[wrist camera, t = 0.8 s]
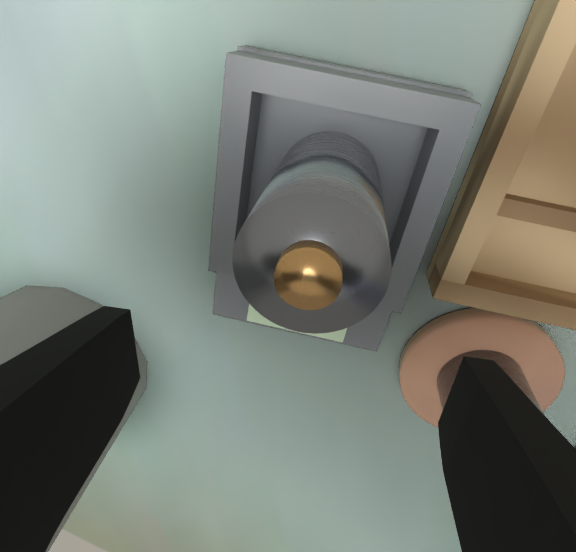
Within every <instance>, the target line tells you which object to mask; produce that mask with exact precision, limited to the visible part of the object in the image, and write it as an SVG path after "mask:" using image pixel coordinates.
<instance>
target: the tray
mask: <svg viewBox="0 0 576 552" xmlns="http://www.w3.org/2000/svg"><path fill="white" fill-rule="evenodd" d="M426 275H427V278H428V282H429V286H430V289H431V293H432V296H433V299H438V300H442V301H447V302H451V303H456V304H460V305H465V306H469V307H474V308H478V309H483V310H487V311H492V312H496V313H501V314H505V315H510V316H514V317H519V318H523V319H528V320H532V321H537V322H541V323H546V324H550V325H555V326H559V327H564V328H569V329H573V330H576V0H535V1H534V4H533V6H532V9H531V11H530V14H529V16H528V19H527V22H526V24H525V27H524V29H523V32H522V34H521V37H520V39H519V42H518V44H517V47H516V49H515V52H514V54H513V57H512V59H511V62H510V64H509V67H508V69H507V72H506V74H505V77H504V79H503V82H502V84H501V87H500V89H499V92H498V94H497V97H496V99H495V102H494V104H493V107H492V109H491V112H490V114H489V117H488V119H487V122H486V124H485V127H484V129H483V132H482V134H481V137H480V139H479V142H478V144H477V147H476V149H475V152H474V154H473V157H472V159H471V162H470V165H469V167H468V170H467V172H466V175H465V177H464V180H463V182H462V185H461V187H460V190H459V192H458V195H457V197H456V200H455V202H454V205H453V207H452V210H451V212H450V215H449V217H448V220H447V222H446V225H445V227H444V230H443V232H442V235H441V237H440V240H439V242H438V245H437V247H436V250H435V252H434V255H433V257H432V260H431V262H430V265H429V267H428V270H427V272H426Z"/></svg>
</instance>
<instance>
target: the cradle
mask: <svg viewBox="0 0 576 552" xmlns="http://www.w3.org/2000/svg"><path fill="white" fill-rule="evenodd" d="M471 95H472V93H470V92H468V91H466V90H464V89H459V88H454V87H449V86H444V85H439V84H434V83H429V82H424V81H419V80H414V79H410V78H405V77H400V76H395V75H390V74H385V73H380V72H375V71H370V70H365V69H360V68H355V67H350V66H345V65H340V64H335V63H330V62H325V61H320V60H315V59H310V58H305V57H300V56H296V55H291V54H286V53H281V52H276V51H271V50H266V49H261V48H256V47H251V46H246V45H245V46H238V49H237V51H236V52H229V53H226V61H225V73H224V85H223V97H222V110H221V122H220V134H219V147H218V159H217V171H216V183H215V196H214V208H213V220H212V232H211V245H210V257H209V269H208V271H213V272H217V274H216V284H215V295H214V306H213V314H214V315H219V316H223V317H227V318H232V319H236V320H241V321H245V322H249V323H254V324H258V325H263V326H267V327H271V328H276V329H280V330H284V331H289V332H293V333H298V334H302V335H306V336H311V337H315V338H320V339H324V340H328V341H333V342H337V343H341V344H346V345H350V346H355V347H359V348H363V349H368V350H372V351H377V350H378V347H379V345H380V342H381V339H382V337H383V334H384V331H385V328H386V326H387V323H388V320H389V318H390V315H391V312H396V313H400V314H401V312H402V309H403V307H404V304H405V301H406V299H407V296H408V294H409V291H410V288H411V286H412V283H413V281H414V278H415V275H416V273H417V270H418V268H419V265H420V262H421V260H422V257H423V255H424V252H425V249H426V247H427V244H428V242H429V239H430V236H431V234H432V231H433V229H434V226H435V223H436V221H437V218H438V216H439V213H440V210H441V208H442V205H443V203H444V200H445V197H446V195H447V192H448V189H449V187H450V184H451V182H452V179H453V176H454V174H455V171H456V169H457V166H458V163H459V161H460V158H461V156H462V153H463V150H464V148H465V145H466V143H467V140H468V137H469V135H470V132H471V130H472V127H473V124H474V122H475V119H476V117H477V114H478V111H479V109H480V106H481V104H479V103H477V102H476V101H474V100H472V99H471ZM323 131H335V132H341V133H344V134H347V135H350V136H352V137H354V138H355V139H357V140H359V141H360V142H361V143H362V144H364V145H365V146H366V147H367V149H368V150H369V151H370V152H371V154H372V155H373V157H374V159H375V161H376V164H377V167H378V171H379V176H380V183H381V190H382V198H383V205H384V212H385V219H386V226H387V233H388V240H389V247H390V254H391V266H392V270H391V279H390V282H389V286H388V289H387V291H386V293H385V296H384V297H383V299H382V301H381V302H380V304H379V305H378V306H377V307H376V308H375V310H374V311H373V312H372V313H370V314H369V315H368V316H367V317H366V318H364V319H363V320H361V321H360V322H358V323H356V324H355V325H353V326H351V327H348V328H345V329H343V330H339V331H335V332H329V333H317V334H313V333H303V332H297V331H293V330H289V329H286V328H284V327H281V326H279V325H277V324H275V323H273V322H271V321H269V320H268V319H266V318H265V317H263V316H262V315H261V314H259V313H258V312H257V311H256V310H255V309H254V308H253V307H252V306H251V305H250V304H249V303H248V301H247V300H246V299H245V297H244V296H243V294H242V292H241V291H240V289H239V287H238V284H237V282H236V279H235V275H234V271H233V263H232V259H233V249H234V244H235V241H236V238H237V235H238V233H239V231H240V229H241V228H242V226H243V224H244V222H245V221H246V219H247V218H248V216H249V214H250V213H251V211H252V209H253V208H254V206H255V204H256V203H257V201H258V199H259V198H260V196H261V194H262V193H263V191H264V189H265V188H266V186H267V185H268V183H269V181H270V180H271V178H272V176H273V175H274V173H275V171H276V170H277V168H278V166H279V165H280V163H281V161H282V160H283V158H284V157H285V155H286V153H287V152H288V151H289V149H290V148H291V147H292V146H293V145H294V144H295V143H297V142H298V141H299V140H301V139H302V138H304V137H306V136H308V135H311V134H314V133H317V132H323Z"/></svg>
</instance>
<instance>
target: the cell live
mask: <svg viewBox="0 0 576 552" xmlns="http://www.w3.org/2000/svg"><path fill="white" fill-rule="evenodd" d="M232 263H233V271H234V275H235V279H236V282H237V284H238V287H239V289H240V291H241V292H242V294H243V296H244V297H245V299H246V300H247V301H248V303H249V304H250V305H251V306H252V307H253V308H254V309H255V310H256V311H257V312H258V313H259V314H261V315H262V316H263V317H265V318H266V319H268V320H269V321H271V322H273V323H275V324H277V325H279V326H281V327H284V328H286V329H289V330H293V331H297V332H303V333H313V334H317V333H329V332H335V331H339V330H343V329H345V328H348V327H351V326H353V325H355V324H356V323H358V322H360V321H361V320H363V319H364V318H366V317H367V316H368V315H369V314H370V313H372V312H373V311H374V310H375V308H376V307H377V306H378V305H379V304H380V302H381V301H382V299H383V297H384V296H385V293H386V291H387V289H388V286H389V282H390V279H391V270H392V266H391V254H390V247H389V240H388V233H387V226H386V219H385V212H384V205H383V198H382V190H381V183H380V176H379V171H378V167H377V164H376V161H375V159H374V157H373V155H372V154H371V152H370V151H369V150H368V149H367V147H366V146H365V145H364V144H362V143H361V142H360V141H359V140H357V139H355V138H354V137H352V136H350V135H347V134H344V133H341V132H335V131H323V132H317V133H314V134H311V135H308V136H306V137H304V138H302V139H301V140H299V141H298V142H297V143H295V144H294V145H293V146H292V147H291V148H290V149H289V151H288V152H287V153H286V155H285V157H284V158H283V160H282V161H281V163H280V165H279V166H278V168H277V170H276V171H275V173H274V175H273V176H272V178H271V180H270V181H269V183H268V185H267V186H266V188H265V189H264V191H263V193H262V194H261V196H260V198H259V199H258V201H257V203H256V204H255V206H254V208H253V209H252V211H251V213H250V214H249V216H248V218H247V219H246V221H245V222H244V224H243V226H242V228H241V229H240V231H239V233H238V235H237V238H236V241H235V244H234V249H233V259H232Z"/></svg>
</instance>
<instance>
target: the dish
mask: <svg viewBox="0 0 576 552" xmlns="http://www.w3.org/2000/svg"><path fill="white" fill-rule="evenodd" d="M474 350H493V351H498V352H501V353H504V354H506V355H508V356H510V357H512V358H513V359H514V360H515V361H516V362H517V363H518V364H519V365H520V367H521V369H522V371H523V373H524V375H525V377H526V379H527V381H528V383H529V385H530V387H531V389H532V391H533V393H534V395H535V397H536V400H537V402H538V404H539V406H540V408H541V410H542V412H544V411H545V410H546V409H547V408H548V407H549V406H550V405H551V404H552V403H553V402H554V400H555V399H556V398H557V396H558V394H559V393H560V391H561V388H562V386H563V382H564V377H565V367H564V362H563V359H562V356H561V354H560V352H559V350H558V349H557V347H556V346H555V344H554V343H553V341H552V339H551V338H550V336H549V335H548V333H547V332H546V331H545V330H544V329H543V328H542V327H541V326H540V325H539V324H537V323H536V322H535V321H532V320H528V319H523V318H519V317H514V316H510V315H505V314H501V313H496V312H492V311H487V310H483V309H478V308H469V309H462V310H458V311H454V312H451V313H448V314H445V315H442V316H440V317H438V318H436V319H434V320H432V321H431V322H429V323H427V324H426V325H424V326H423V327H422V328H421V329H419V330H418V331H417V332H416V333H415V334H414V335H413V336H412V337H411V338H410V340H409V341H408V342H407V344H406V345H405V347H404V349H403V351H402V354H401V357H400V362H399V376H400V385H401V390H402V394H403V396H404V399H405V401H406V402H407V404H408V405H409V407H410V408H411V409H412V410H413V411H414V412H415V413H416V414H417V415H418V416H419V417H421V418H422V419H424V420H425V421H426V422H428V423H430V424H432V425H434V426H437V427H438V421H439V419H440V416H441V414H442V407H441V402H440V398H439V393H438V389H437V376H438V374H439V372H440V370H441V368H442V367H443V366H444V365H445V364H446V363H447V362H448V361H449V360H451V359H452V358H454V357H456V356H457V355H460V354H462V353H465V352H469V351H474Z"/></svg>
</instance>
